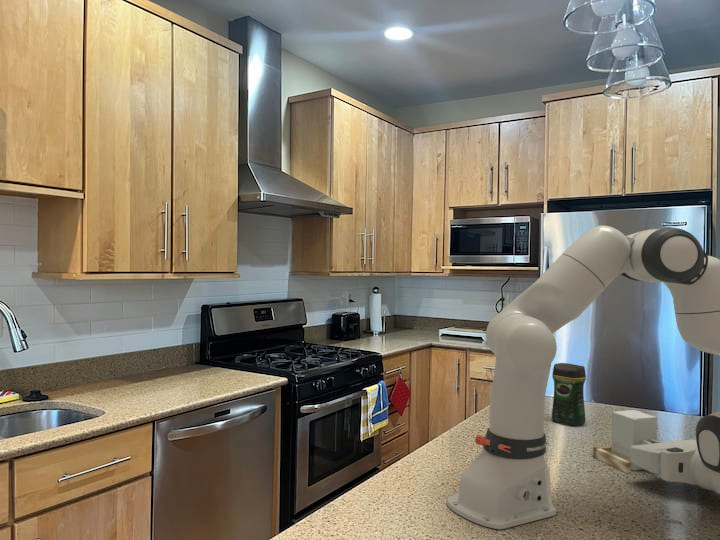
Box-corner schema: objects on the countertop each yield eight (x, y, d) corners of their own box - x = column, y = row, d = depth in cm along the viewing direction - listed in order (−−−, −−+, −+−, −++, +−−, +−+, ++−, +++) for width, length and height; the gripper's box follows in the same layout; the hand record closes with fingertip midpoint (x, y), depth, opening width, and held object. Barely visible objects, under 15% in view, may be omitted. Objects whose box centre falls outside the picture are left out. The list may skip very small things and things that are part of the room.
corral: (667, 468, 131) (667, 458, 131) (626, 473, 128) (626, 462, 128) (631, 452, 142) (631, 443, 142) (593, 456, 138) (593, 447, 138)
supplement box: (657, 468, 131) (658, 417, 131) (632, 471, 129) (633, 419, 129) (634, 457, 138) (635, 409, 138) (610, 460, 136) (611, 410, 136)
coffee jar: (588, 423, 168) (590, 364, 168) (577, 428, 163) (578, 367, 163) (559, 416, 175) (560, 360, 175) (547, 421, 170) (548, 363, 170)
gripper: (733, 444, 120) (679, 426, 133) (661, 452, 114) (612, 433, 127) (732, 472, 120) (679, 452, 133) (660, 482, 114) (612, 459, 127)
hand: (646, 442), depth 130 cm, fingers closed
